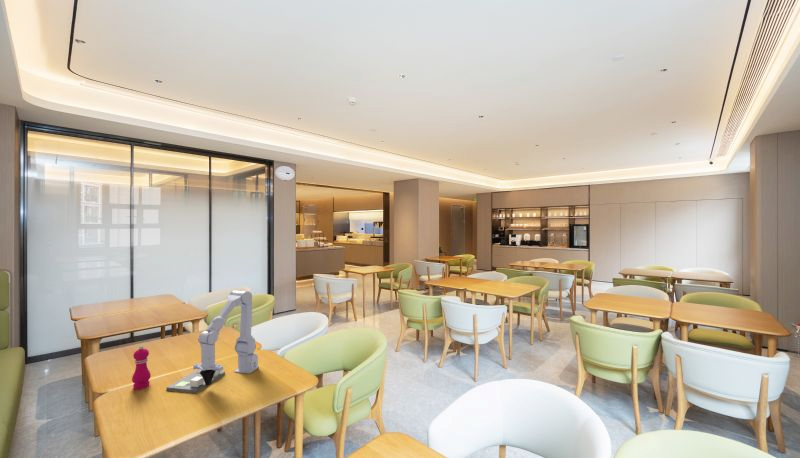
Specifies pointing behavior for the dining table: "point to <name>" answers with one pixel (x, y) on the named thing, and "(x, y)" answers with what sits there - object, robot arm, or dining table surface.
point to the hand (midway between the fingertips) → (208, 384)
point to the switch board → (184, 383)
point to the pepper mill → (141, 369)
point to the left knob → (196, 381)
